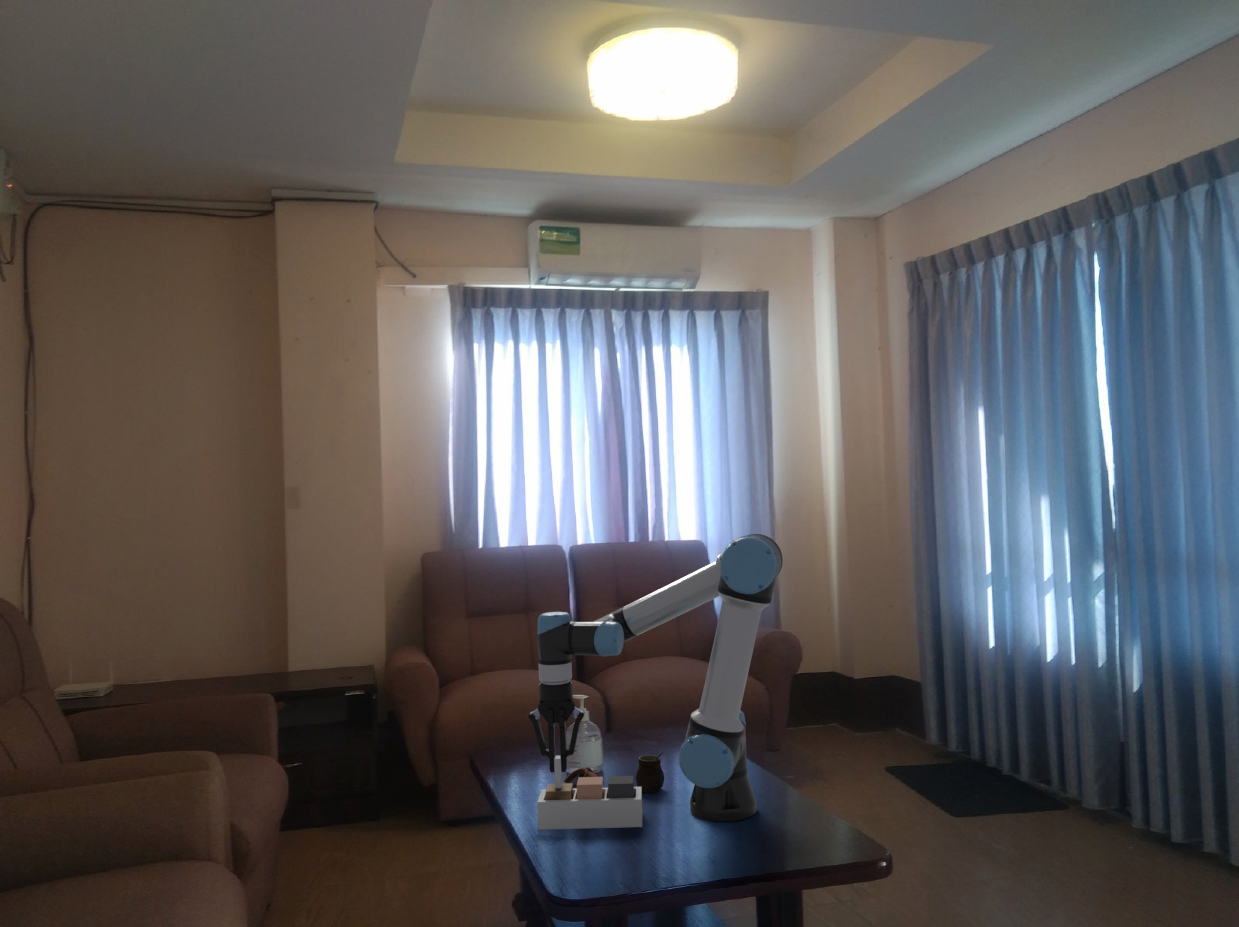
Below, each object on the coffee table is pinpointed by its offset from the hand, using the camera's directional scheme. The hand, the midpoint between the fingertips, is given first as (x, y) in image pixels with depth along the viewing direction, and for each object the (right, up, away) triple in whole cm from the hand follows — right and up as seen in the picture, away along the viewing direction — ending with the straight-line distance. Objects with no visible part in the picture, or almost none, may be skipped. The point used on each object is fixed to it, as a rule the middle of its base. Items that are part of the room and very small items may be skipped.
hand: (558, 786), depth 206 cm
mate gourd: (+22, -8, +20) cm, 31 cm away
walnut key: (0, -5, 0) cm, 5 cm away
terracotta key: (+7, -4, 0) cm, 8 cm away
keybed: (+7, -8, -1) cm, 11 cm away
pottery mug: (+6, -9, +16) cm, 19 cm away
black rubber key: (+14, -3, -1) cm, 15 cm away
